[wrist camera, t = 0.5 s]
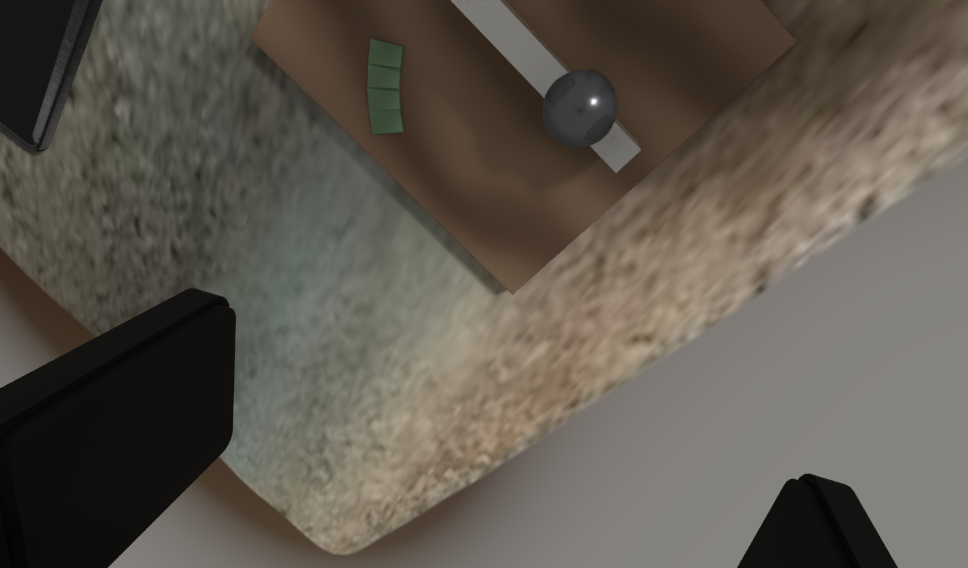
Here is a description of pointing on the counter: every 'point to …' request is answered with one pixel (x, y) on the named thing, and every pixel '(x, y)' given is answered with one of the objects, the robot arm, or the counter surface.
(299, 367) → the counter surface
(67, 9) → the phone
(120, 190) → the counter surface
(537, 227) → the dial board
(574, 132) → the dial pointer
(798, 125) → the counter surface
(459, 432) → the counter surface
